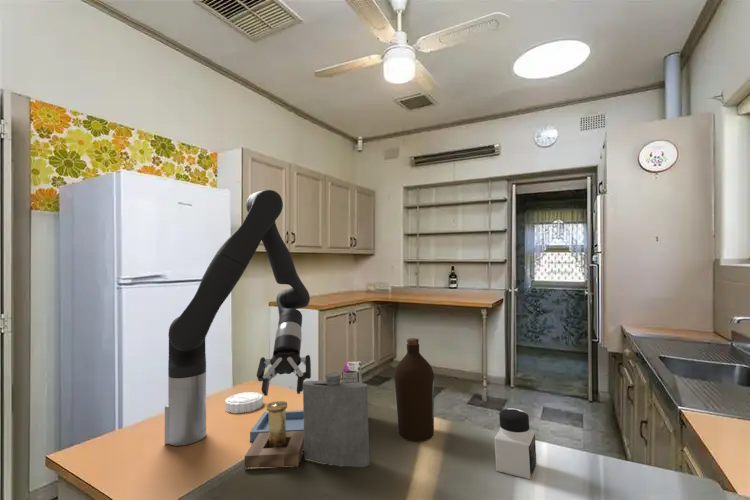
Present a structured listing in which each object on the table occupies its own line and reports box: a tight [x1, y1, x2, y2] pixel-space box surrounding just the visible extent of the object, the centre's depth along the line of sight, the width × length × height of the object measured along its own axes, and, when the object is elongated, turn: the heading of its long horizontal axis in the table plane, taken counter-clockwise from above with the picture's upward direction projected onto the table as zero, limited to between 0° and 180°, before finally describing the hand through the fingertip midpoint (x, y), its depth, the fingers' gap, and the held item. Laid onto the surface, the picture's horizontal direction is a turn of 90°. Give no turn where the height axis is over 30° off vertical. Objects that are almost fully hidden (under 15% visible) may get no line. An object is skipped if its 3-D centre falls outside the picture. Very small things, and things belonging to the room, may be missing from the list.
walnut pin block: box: [244, 431, 304, 468], centre depth 88 cm, size 12×12×3 cm
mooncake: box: [224, 391, 264, 414], centre depth 123 cm, size 12×12×4 cm
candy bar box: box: [341, 360, 363, 383], centre depth 107 cm, size 11×5×16 cm, turn 179°
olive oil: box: [394, 337, 435, 442], centre depth 99 cm, size 11×11×25 cm
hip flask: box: [302, 372, 370, 468], centre depth 85 cm, size 16×4×20 cm, turn 75°
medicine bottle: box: [494, 407, 538, 480], centre depth 80 cm, size 7×7×12 cm
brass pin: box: [266, 400, 288, 448], centre depth 89 cm, size 5×5×12 cm
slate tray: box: [249, 409, 304, 443], centre depth 103 cm, size 14×14×2 cm
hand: (282, 393), depth 96 cm, fingers open, 8 cm apart
